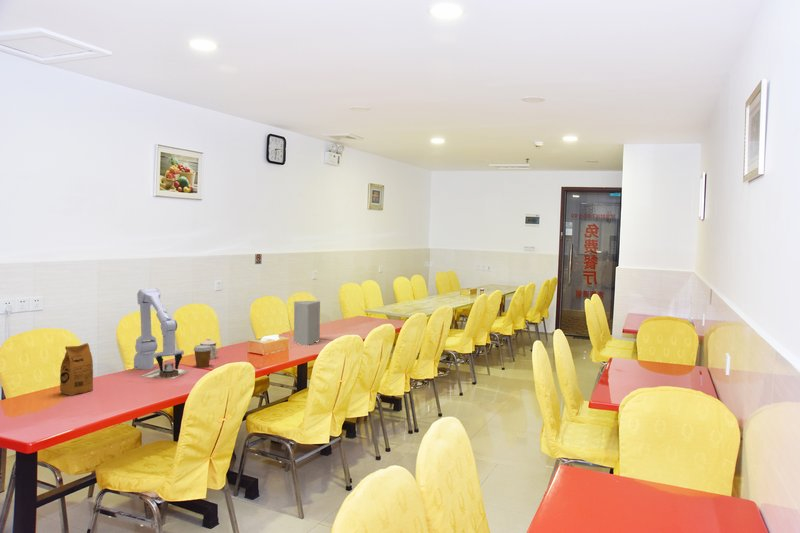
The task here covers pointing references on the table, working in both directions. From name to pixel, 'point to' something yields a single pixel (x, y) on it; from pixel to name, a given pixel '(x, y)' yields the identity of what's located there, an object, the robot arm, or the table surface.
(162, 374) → the ring collar
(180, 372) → the plate
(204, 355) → the disposable coffee cup
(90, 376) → the coffee package
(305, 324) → the grey block
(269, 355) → the table surface
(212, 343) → the teacup with lid
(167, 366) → the piston
